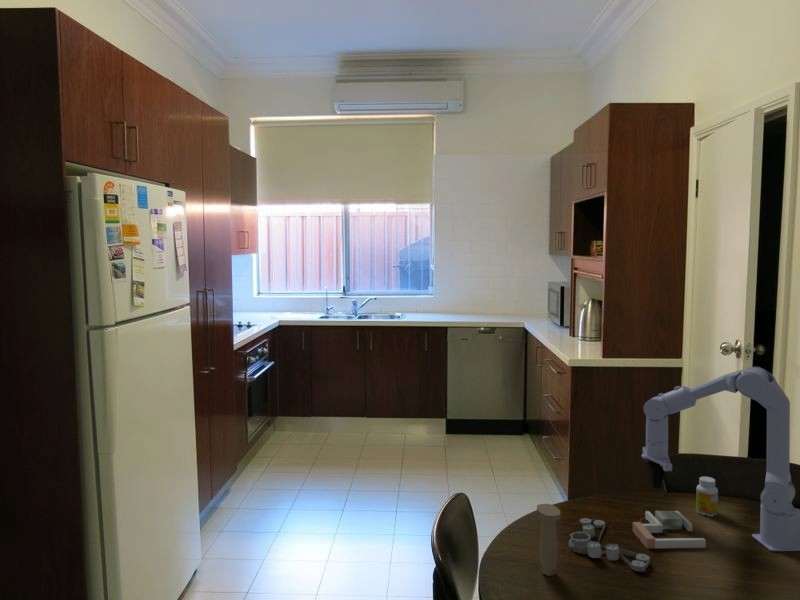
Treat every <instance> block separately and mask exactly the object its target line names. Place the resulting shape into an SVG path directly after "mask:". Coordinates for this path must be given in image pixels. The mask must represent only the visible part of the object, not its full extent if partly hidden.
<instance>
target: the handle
mask: <svg viewBox="0 0 800 600" xmlns="http://www.w3.org/2000/svg"><path fill="white" fill-rule="evenodd" d="M536 514H537V517H538V518H539V519H540V520H541V521H540V535H539V537H540V538H539V539H540V541H539V558H540V559H539V560H540V561H539V562H540V566H541V568H540V569H541V573H542V574H543V575H546V576H547V577H551V576H555V575H556V569H557V563H558V540H557V539H558V538H557V522H559V520H561V510H560V509H559V508H558V507H557V506H555V505H553V504H551V503H540V504H537V505H536Z"/></svg>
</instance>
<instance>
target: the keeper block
mask: <svg viewBox="0 0 800 600" xmlns="http://www.w3.org/2000/svg"><path fill="white" fill-rule="evenodd" d="M674 511H675V510H655V511H654V515H655V516H654V517H655V518H656V519H657V520H658V521H659V522H660V523H661V524H662V525H663V530H682V529H683V526H682V519H681V518H680V517H679V516H678V515H677V514H676V513H675V512H674Z"/></svg>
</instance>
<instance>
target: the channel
mask: <svg viewBox="0 0 800 600" xmlns="http://www.w3.org/2000/svg"><path fill="white" fill-rule="evenodd" d="M673 511H674V512H675V513H676V514H677V515H678V516H679V517H680V518H681V519H682V525H683V526H684V527H685V528H686V529H685V528H684V527H683V526H682V527H683V528H684V529H685V530H686V531H687V532H689V531H691V532H693V526H694V525H693V523H692V522H691V521H690V520H689V519H688V518H687V517H685V516H684V515H683V514H682V513H681V512H680V511H679V510H673ZM644 516H645V517H644V518H645V520H646V521H647V520H648V521H649V522H648V523H642V525H643V526H644V527H645V528H646V529H647V530H648V531H649V532H650V533H651V534H662V533H664V531H663V530H664V529H663V525H662V524H661V523H660V522H659V521H658V520H657V519H656V518H655V516H654V514H653V513H652V512H650V511H649V510H645V515H644ZM706 543H707V540H706V539H705V538H704V537H687V538H685V537H679V538H677V537H676V538H675V537H673V538H668V537H667V538H666V537H665V538H655V548H654V549H706V548H707V547H706V546H707V545H706Z"/></svg>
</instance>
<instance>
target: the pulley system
mask: <svg viewBox="0 0 800 600" xmlns="http://www.w3.org/2000/svg"><path fill="white" fill-rule="evenodd" d="M580 523H581V524H582V525H581V524H580ZM579 524H580V525H581V526H582V531H575V532H572V533H571V534H569V536H570V539H569V540H568V548H569V549H570V550H571V551H572V550H573V551H572V552H574V553H576V552H577V553H576V554H579V553H582V554H581V555H587V556H588V557H590V558H592V559H600V558H601V556H602V555H606V558H607V560H609V561H618V560H619V559H620V558H621V559H622V561H624V563H626V564H627V565H628V566H629V567H630V568H631V569H632V570H633V571H634V572H638V573H640V572H646V569H647V568H648V566H649V565H650V564H651V557H650V556H649V555H647V553H640V552H639V553H638V552H635V551H630V550H626V549H621V548H620V547H619V545H618V544H617V543H607V544H601V542H600V541H601V538H602V536H603V535H604V532H605V529H606V522H605V521H604V520H601V519H590V518H586V517H584V518H583V517H582V518H580V519H579ZM594 526H595V527H594ZM595 528H597V529H601V532H600V534H599V537H598V539H597V541H595V540H594V541H593V540H592V539H594V537H596V532H595ZM602 549H604V550H602ZM623 554H625V555H628V556H632V557H636V558H635V559H632V561H631V562H630V561H629V560H628V559H627V558H626V557H625V556H624V555H623Z"/></svg>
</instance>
